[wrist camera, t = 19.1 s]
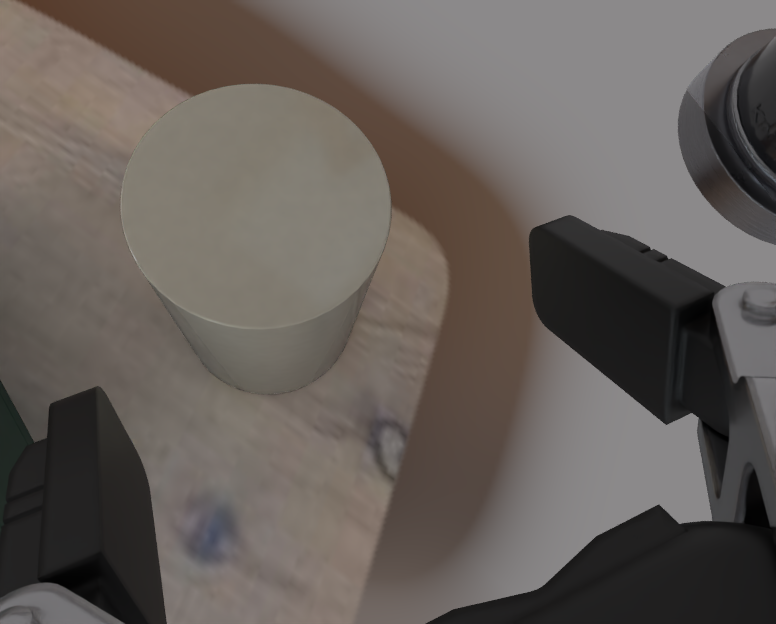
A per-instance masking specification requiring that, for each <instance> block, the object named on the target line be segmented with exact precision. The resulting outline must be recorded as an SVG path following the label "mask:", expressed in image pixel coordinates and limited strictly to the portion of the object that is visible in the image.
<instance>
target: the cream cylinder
mask: <svg viewBox="0 0 776 624" xmlns="http://www.w3.org/2000/svg"><path fill="white" fill-rule="evenodd" d="M120 213H121V221H122V227H123V232H124V235H125V238H126V241H127V244H128V247H129V250H130V252H131V254H132V256H133V258H134V260H135V262H136V264H137V265H138V267H139V268H140V270H141V271H142V273H143V274H144V276H145V277H146V279H147V280H148V282H149V284H150V285H151V287H152V288H153V290H154V291H155V293H156V294H157V296H158V297H159V299H160V300H161V302H162V303H163V305H164V306H165V308H166V309H167V311H168V312H169V314H170V316H171V317H172V319H173V320H174V322H175V323H176V325H177V326H178V328H179V329H180V331H181V332H182V334H183V335H184V337H185V338H186V340H187V341H188V343H189V344H190V346H191V348H192V349H193V351H194V352H195V354H196V355H197V357H198V358H199V359H200V361H201V362H202V364H203V365H204V366H205V367H206V368H207V369H208V370H209V371H210V372H211V373H212V374H213V375H215V376H216V377H217V378H218V379H220V380H221V381H223V382H225V383H226V384H228V385H230V386H232V387H235V388H237V389H240V390H243V391H247V392H251V393H257V394H279V393H285V392H290V391H294V390H296V389H299V388H302V387H304V386H306V385H308V384H310V383H312V382H314V381H315V380H317V379H318V378H319V377H321V376H322V375H323V374H325V373H326V372H327V371H328V370H329V369H330V368H331V367H332V366H333V364H334V363H335V362H336V361H337V359H338V358H339V356H340V355H341V353H342V352H343V350H344V347H345V345H346V343H347V341H348V338H349V336H350V333H351V331H352V328H353V326H354V323H355V321H356V318H357V316H358V313H359V311H360V308H361V306H362V303H363V301H364V298H365V296H366V293H367V291H368V288H369V286H370V283H371V281H372V278H373V276H374V273H375V271H376V268H377V266H378V263H379V261H380V258H381V256H382V253H383V251H384V248H385V245H386V242H387V238H388V235H389V230H390V224H391V195H390V187H389V183H388V179H387V176H386V172H385V170H384V167H383V165H382V163H381V160H380V158H379V156H378V154H377V153H376V151H375V149H374V148H373V146H372V144H371V143H370V142H369V140H368V139H367V138H366V136H365V135H364V134H363V132H362V131H361V130H360V129H359V128H358V127H357V126H356V125H355V124H354V123H353V122H352V121H351V120H350V119H349V118H347V117H346V116H345V115H343V114H342V113H341V112H340V111H338V110H337V109H336V108H334V107H332V106H331V105H329V104H327V103H326V102H324V101H322V100H320V99H318V98H316V97H313V96H311V95H309V94H306V93H304V92H300V91H297V90H294V89H291V88H286V87H281V86H276V85H267V84H239V85H232V86H225V87H221V88H218V89H213V90H210V91H207V92H204V93H201V94H199V95H196V96H194V97H192V98H190V99H188V100H186V101H184V102H182V103H180V104H178V105H177V106H176V107H174V108H173V109H171V110H170V111H168V112H167V113H166V114H164V115H163V116H162V117H161V118H160V119H159V120H158V121H157V122H156V123H155V124H153V125H152V127H151V128H150V129H149V130H148V131H147V133H146V134H145V135H144V136H143V137H142V139H141V141H140V142H139V144H138V145H137V147H136V148H135V150H134V152H133V154H132V156H131V158H130V161H129V163H128V165H127V168H126V171H125V175H124V178H123V182H122V189H121V197H120Z"/></svg>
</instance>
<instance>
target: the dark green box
mask: <svg viewBox="0 0 776 624" xmlns="http://www.w3.org/2000/svg"><path fill="white" fill-rule="evenodd" d="M33 443H34V441H33V439H32V438H31V436H30V434H29V432H28V430H27V428H26V427H25V425H24V423H23V421H22V419H21V417H20V416H19V414H18V412H17V410H16V408H15V406H14V404H13V403H12V401H11V399H10V397H9V395H8V393H7V392H6V390H5V388H4V386H3V384H2V382H1V381H0V535H1V527H2V526H3V525H4V523H3V521H2V520H3V513H4V506H5V504H7V501H6V492H7V484H8V477H9V473H10V471H11V469H12V468H13V466H14V465H15V463H16V461H17V460H18V458H19V457H20V455H21V454H22V452H23V450H24V449H25V447H26V446H27V445H30V444H33Z"/></svg>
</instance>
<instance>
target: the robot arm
mask: <svg viewBox="0 0 776 624" xmlns="http://www.w3.org/2000/svg"><path fill="white" fill-rule="evenodd" d="M726 111H727V119H728V124H729V128H730V131H731V134H732V136H733V139H734V141H735V143H736V145H737V147H738V149H739V151H740V153H741V154H742V156H743V158H744V159H745V160H746V162H747V163H748V164H749V166H750V167H751V168H752V169H753V170H754V171H755V173H756V174H757V175H758V176H759V177H760V178H761V179H763V180H764V181H765V182H766V183H767V184H768V185H770V186H771V187H772V188H774V189H775V190H776V36H775V37H774V38H773V39H772V40H771V41H769V42H768V43H767V44H766V45H765V46H764V47H762V48H761V49H759V50H758V51H756V52H755V53H754V54H753V55H751V56H750V57H749V58H748V59H747V60H746V61H745V62H744V63H743V64H742V65H741V66H740V67H739V68H738V70H737V71H736V73H735V74H734V76H733V78H732V80H731V83H730V85H729V89H728V93H727V101H726ZM529 248H530V249H529V250H530V265H531V283H532V298H533V303H534V307H535V310H536V312H537V315H538V317H539V318H540V320H541V321H542V323H543V324H544V325H545V326H546V327H547V328H548V329H549V330H550V331H551V332H553V333H554V334H555V335H556V336H557V337H559V338H560V339H561V340H562V341H564V342H565V343H566V344H567V345H569V346H570V347H571V348H572V349H573V350H575V351H576V352H577V353H578V354H580V355H581V356H582V357H583V358H585V359H586V360H587V361H588V362H590V363H591V364H592V365H593V366H594V367H596V368H597V369H598V370H599V371H601V372H602V373H603V374H604V375H605V376H607V377H608V378H609V379H610V380H612V381H613V382H614V383H615V384H617V385H618V386H619V387H620V388H622V389H623V390H624V391H625V392H626V393H628V394H629V395H630V396H631V397H633V398H634V399H635V400H636V401H637V402H639V403H640V404H641V405H643V406H644V407H645V408H646V409H647V410H649V411H650V412H651V413H652V414H653V415H655V416H656V417H657V418H658V419H660V420H661V421H662V422H663V423H665V424H666V425H667V424H669V423H671V422H673V421H675V420H678V419H680V418H682V417H684V416H686V415H688V414H690V413H693V414H694V415H696V416H697V417H699V420H698V429H697V433H698V440H699V446H700V452H701V457H702V463H703V468H704V474H705V479H706V485H707V491H708V496H709V502H710V507H711V513H712V521H700V522H690V523H682V524H678V522H677V521H676V520H674V519H673V518H672V517H671V516H670V515H669V514H668V513H667V512H666V511H665V510H664V509H663V508H662V507H661V506H660V505H657V506H655V507H653V508H651V509H649V510H647V511H645V512H643V513H641V514H639V515H638V516H636V517H633V518H631V519H630V520H628V521H626V522H624V523H622V524H620V525H618V526H616V527H614V528H612V529H610V530H608V531H606V532H604V533H602V534H600V535H598V536H596V537H595V538H594V539H593V540H592V541H591V542H590V543H589V544H588V545H587V546H585V547H584V549H582V550H581V551H580V552H579V553H578V554H577V555H576V556H575V557H574V558H573V559H572V560H571V561H569V563H567V564H566V565H565V566H564V567H563V568H562V569H561V570H560V571H559V572H558V573H557V574H556V575H555V576H554V577H553V578H551V579H550V580H549V581H548V582H547V583H546V584H545V585H544V586H542V587H541V588H539V589H537V590H534V591H531V592H527V593H523V594H518V595H514V596H510V597H506V598H501V599H497V600H492V601H488V602H484V603H480V604H475V605H471V606H466V607H462V608H458V609H453V610H451V611H450V612H448V613H446V614H444V615H442V616H440V617H438V618H436V619H434V620H432V621H430V622H428V623H426V624H776V284H774V283H767V282H744V283H738V284H734V285H731V286H728V287H725V286H724V285H721V284H720V283H718V282H716V281H714V280H712V279H710V278H708V277H706V276H704V275H702V274H700V273H699V272H697V271H695V270H693V269H691V268H689V267H687V266H685V265H683V264H681V263H680V262H678V261H676V260H674V259H672V258H671V259H668V258H667V256H666V255H664V254H662V253H660V252H658V251H657V250H655V249H653V250H651V249H650V247H649V246H647V245H645V244H643V243H641V242H639V241H637V240H635V239H634V238H631V237H630V236H626V235H622V234H617V233H613V232H609V231H604V230H599V229H597V228H595V227H593V226H591V225H589V224H587V223H586V222H584V221H582V220H580V219H578V218H576V217H574V216H571V215H568V216H565V217H562V218H559V219H557V220H554V221H551V222H548V223H546V224H543V225H540V226H537V227H535V228H533V229H532V230H531V232H530V236H529ZM6 501H7V504H5V506H4V513H3V520H2V521H3V523H4V525H3V526H2V527H1V535H0V624H167V622H166V614H165V606H164V598H163V590H162V582H161V574H160V566H159V558H158V550H157V542H156V534H155V526H154V518H153V510H152V502H151V494H150V487H149V483H148V479H147V476H146V472H145V469H144V467H143V464H142V462H141V459H140V457H139V455H138V453H137V451H136V449H135V447H134V445H133V443H132V442H131V440H130V438H129V436H128V434H127V432H126V430H125V429H124V427H123V425H122V423H121V421H120V419H119V417H118V416H117V414H116V412H115V410H114V408H113V406H112V404H111V402H110V401H109V399H108V397H107V395H106V394H105V392H104V391H103V389H102V388H101V387H99V386H97V387H94V388H91V389H89V390H86V391H83V392H81V393H78V394H75V395H72V396H70V397H67V398H64V399H61V400H59V401H56V402H53V403H51V404H50V407H49V419H48V433H47V438H46V439H43V440H41V441H38V442H35V443H33V444H30V445H27V446H26V447H25V449H24V450H23V452H22V454H21V455H20V457H19V458H18V460H17V461H16V463H15V465H14V466H13V468H12V469H11V471H10V473H9V477H8V484H7V492H6Z"/></svg>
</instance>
